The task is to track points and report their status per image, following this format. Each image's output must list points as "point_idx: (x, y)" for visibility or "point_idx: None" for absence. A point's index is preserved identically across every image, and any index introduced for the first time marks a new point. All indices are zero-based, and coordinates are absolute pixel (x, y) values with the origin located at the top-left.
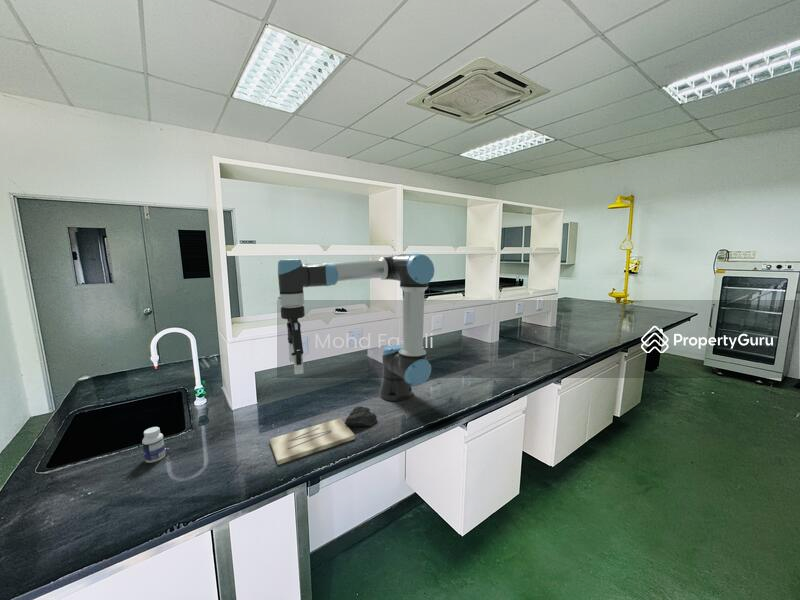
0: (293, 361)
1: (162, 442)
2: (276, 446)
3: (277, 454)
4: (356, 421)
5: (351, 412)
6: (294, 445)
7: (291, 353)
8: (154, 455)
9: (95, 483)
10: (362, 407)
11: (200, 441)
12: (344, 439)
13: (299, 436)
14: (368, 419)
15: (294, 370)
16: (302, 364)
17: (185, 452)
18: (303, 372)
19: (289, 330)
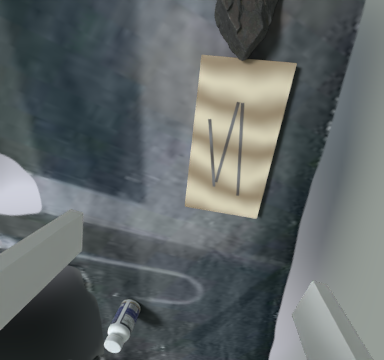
0: (81, 235)
1: (126, 319)
2: (216, 206)
3: (240, 213)
4: (266, 30)
5: (234, 23)
6: (235, 183)
7: (34, 284)
8: (137, 315)
9: (148, 343)
10: None
11: (120, 267)
12: (288, 92)
13: (213, 164)
14: None
15: (302, 338)
16: (366, 354)
17: (138, 284)
18: (329, 289)
19: None
